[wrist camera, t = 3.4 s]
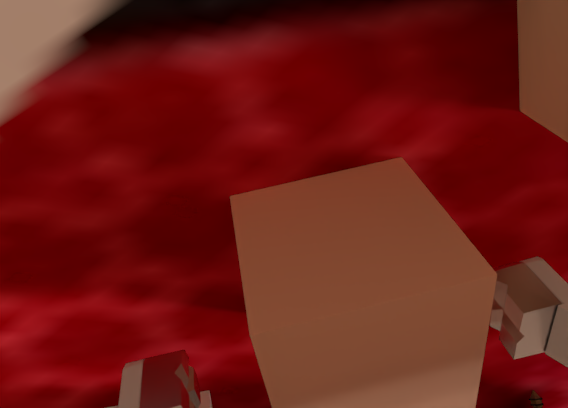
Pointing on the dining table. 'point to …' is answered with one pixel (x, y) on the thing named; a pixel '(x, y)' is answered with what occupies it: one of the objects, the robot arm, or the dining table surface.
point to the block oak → (544, 63)
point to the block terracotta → (362, 292)
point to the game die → (535, 400)
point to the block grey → (204, 396)
